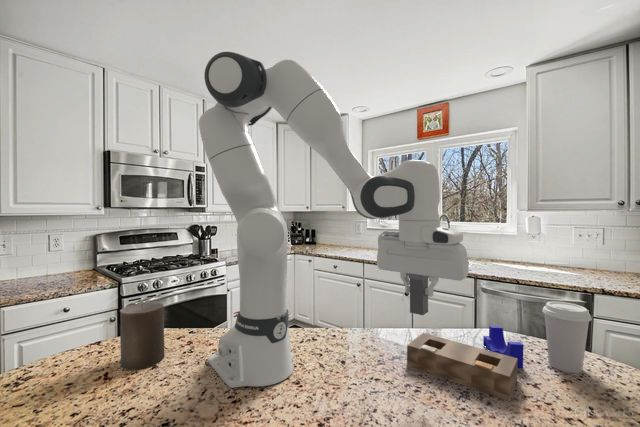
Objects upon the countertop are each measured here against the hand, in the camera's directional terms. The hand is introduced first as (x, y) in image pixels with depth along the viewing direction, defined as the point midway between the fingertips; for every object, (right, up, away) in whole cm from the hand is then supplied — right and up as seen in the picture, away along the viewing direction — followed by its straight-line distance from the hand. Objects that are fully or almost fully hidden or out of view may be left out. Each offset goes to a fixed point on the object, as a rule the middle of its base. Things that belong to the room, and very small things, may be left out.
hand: (419, 294), depth 70 cm
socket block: (+11, -20, +4) cm, 23 cm away
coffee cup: (+38, -20, +7) cm, 44 cm away
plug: (0, -4, 0) cm, 4 cm away
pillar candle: (-68, -19, +9) cm, 71 cm away
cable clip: (+26, -20, +12) cm, 35 cm away
